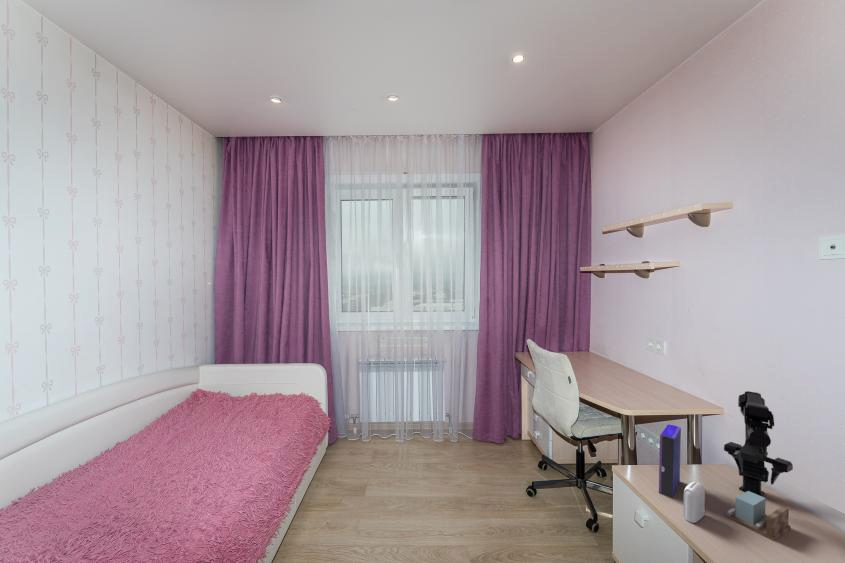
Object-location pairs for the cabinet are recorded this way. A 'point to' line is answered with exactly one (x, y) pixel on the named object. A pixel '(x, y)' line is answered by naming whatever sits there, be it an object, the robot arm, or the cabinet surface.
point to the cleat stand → (765, 522)
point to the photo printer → (694, 502)
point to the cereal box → (669, 460)
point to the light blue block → (750, 507)
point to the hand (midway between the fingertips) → (756, 478)
